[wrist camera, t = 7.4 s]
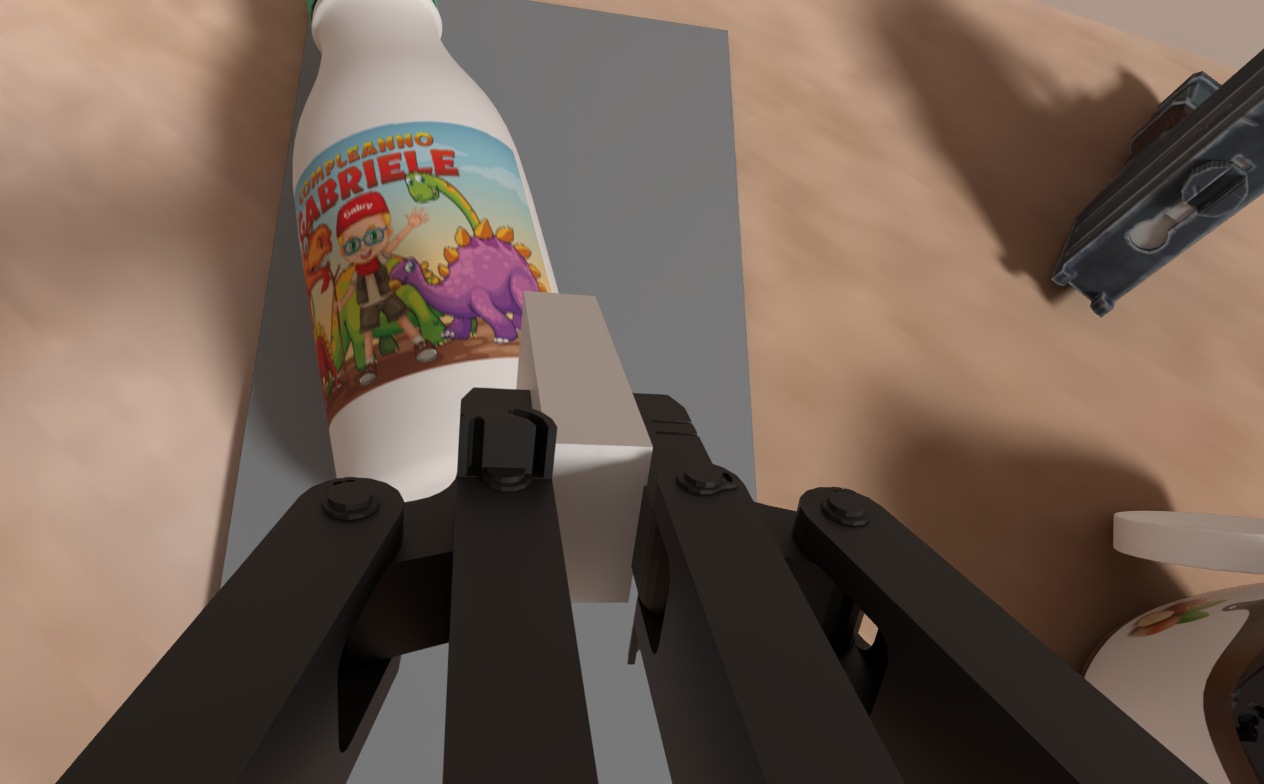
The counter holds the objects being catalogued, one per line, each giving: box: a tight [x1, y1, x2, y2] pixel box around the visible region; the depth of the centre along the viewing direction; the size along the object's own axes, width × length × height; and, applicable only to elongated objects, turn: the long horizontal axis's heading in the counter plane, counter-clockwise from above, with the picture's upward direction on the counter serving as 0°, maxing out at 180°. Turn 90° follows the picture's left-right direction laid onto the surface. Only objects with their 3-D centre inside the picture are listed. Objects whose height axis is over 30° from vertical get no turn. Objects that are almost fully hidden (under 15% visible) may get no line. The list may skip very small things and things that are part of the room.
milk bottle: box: [293, 0, 559, 502], centre depth 28 cm, size 8×8×20 cm
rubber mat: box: [220, 0, 757, 784], centre depth 31 cm, size 34×18×1 cm, turn 0°
